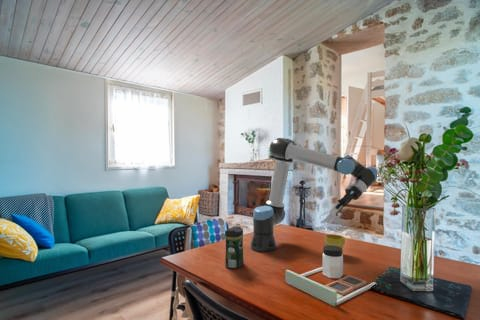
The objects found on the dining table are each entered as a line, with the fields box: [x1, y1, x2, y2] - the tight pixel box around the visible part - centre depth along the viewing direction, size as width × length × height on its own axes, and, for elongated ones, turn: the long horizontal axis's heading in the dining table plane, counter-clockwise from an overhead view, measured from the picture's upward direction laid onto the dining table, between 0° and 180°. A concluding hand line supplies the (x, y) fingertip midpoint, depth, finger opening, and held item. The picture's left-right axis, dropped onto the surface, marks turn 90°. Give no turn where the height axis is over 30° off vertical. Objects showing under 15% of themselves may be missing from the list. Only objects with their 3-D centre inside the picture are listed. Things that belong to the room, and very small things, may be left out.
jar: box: [321, 245, 344, 279], centre depth 126 cm, size 9×8×12 cm
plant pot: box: [324, 233, 346, 251], centre depth 153 cm, size 10×10×10 cm
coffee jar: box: [224, 225, 245, 270], centre depth 138 cm, size 10×8×19 cm
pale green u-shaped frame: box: [284, 266, 377, 307], centre depth 117 cm, size 28×24×5 cm
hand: (328, 217), depth 140 cm, fingers open, 13 cm apart
